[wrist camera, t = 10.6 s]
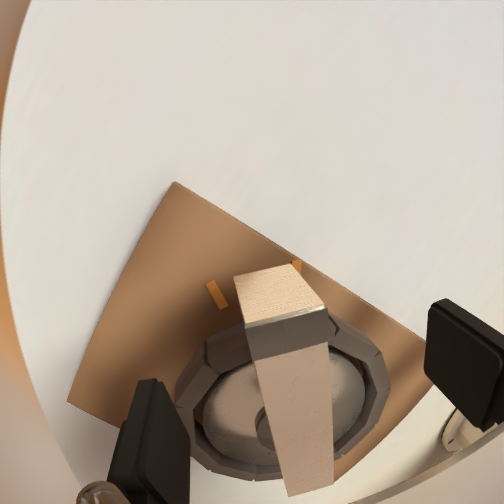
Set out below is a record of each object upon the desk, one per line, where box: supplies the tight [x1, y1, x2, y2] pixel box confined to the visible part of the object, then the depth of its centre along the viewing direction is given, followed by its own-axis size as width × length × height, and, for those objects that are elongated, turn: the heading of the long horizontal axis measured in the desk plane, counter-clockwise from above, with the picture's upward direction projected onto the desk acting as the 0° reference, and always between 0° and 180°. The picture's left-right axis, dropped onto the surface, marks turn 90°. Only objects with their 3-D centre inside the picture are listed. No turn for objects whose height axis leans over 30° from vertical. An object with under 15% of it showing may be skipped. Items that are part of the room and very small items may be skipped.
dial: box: [202, 264, 365, 497], centre depth 14 cm, size 15×10×7 cm, turn 11°
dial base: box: [67, 181, 434, 482], centre depth 18 cm, size 24×16×4 cm
